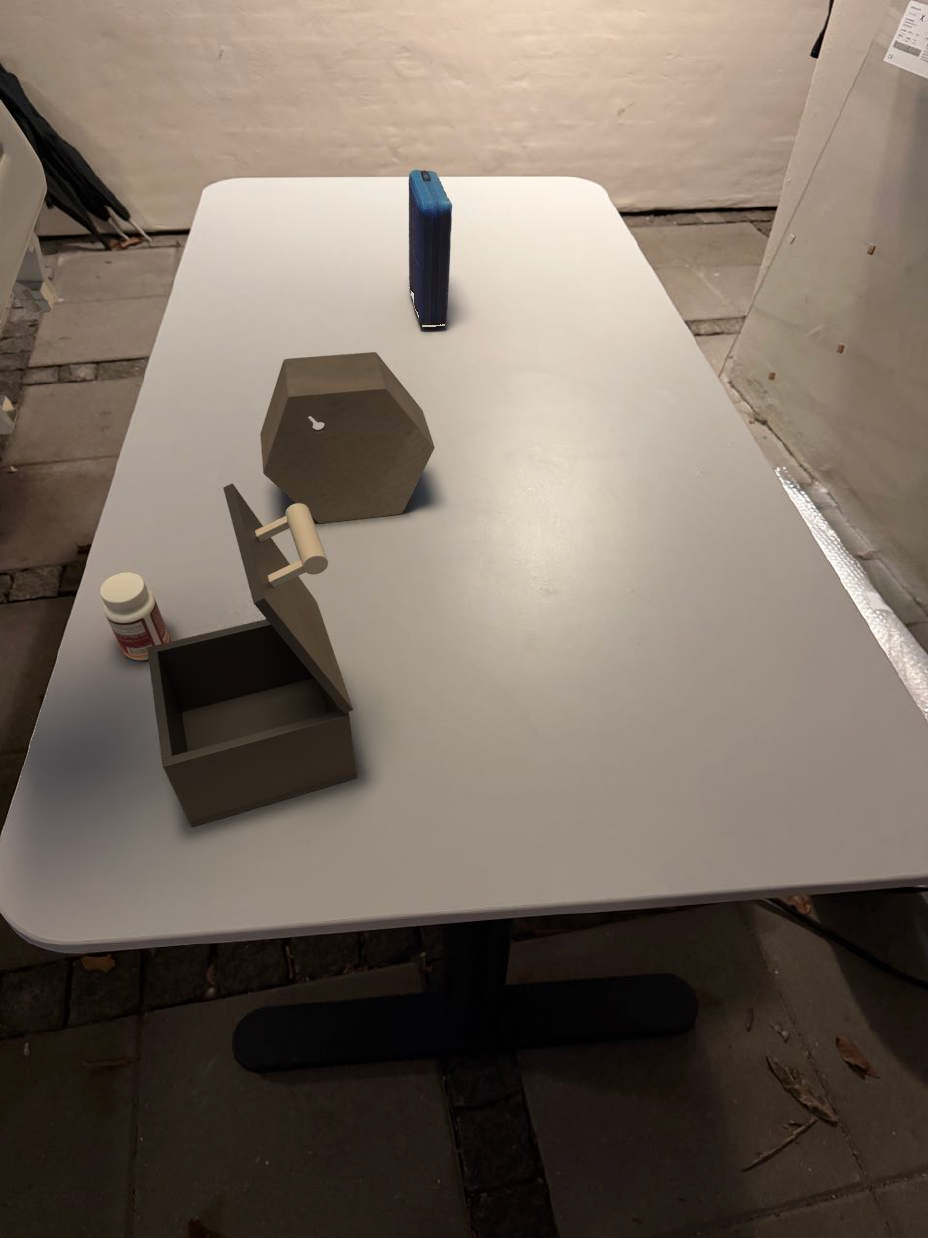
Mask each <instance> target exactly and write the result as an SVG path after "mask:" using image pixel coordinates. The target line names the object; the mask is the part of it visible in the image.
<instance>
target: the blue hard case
mask: <svg viewBox="0 0 928 1238" xmlns="http://www.w3.org/2000/svg"><path fill="white" fill-rule="evenodd" d="M452 213H453V204H452V201H451V200H450V198H449V197H448V195H447V192H446V191H445V189H444V186H443V184H442V181H441V180H440V177H439V176H438V173H437V172H436V171H433V170H425V169H424V170H420V169H413V170H411V171H410V172H409V175H408V283H409V285H408V287H410V288H409V291H410V290H411V291H412V292H413V293H414V305H415V309H416V311H417V312H418V315H419V320H418V317H417V314H416V311H415V309H414V308H413V310H414V312H415V315H416V317H417V322H418V323H419V322H420V323H419V325H420V324H421V325H440V324H441V325H442V324H446V325H445V326H436V327H422V328H423V329H434V328H445V327H446V326H447V322H448V321H447V320H448V308H449V307H448V306H449V292H450V291H449V290H450V287H449V285H450V268H451V267H450V266H451V243H452V241H451V240H452V224H453V223H452V222H453V220H452V219H453V217H452V216H453V215H452ZM414 305H413V306H414ZM421 325H420V326H421Z"/></svg>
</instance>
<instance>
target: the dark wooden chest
mask: <svg viewBox="0 0 928 1238" xmlns="http://www.w3.org/2000/svg"><path fill="white" fill-rule="evenodd" d="M147 652H148V659H147V660H148V666H149V674H150V682H151V688H152V696H153V697H152V698H153V705H154V710H155V711H154V712H155V719H156V726H157V733H158V743H159V749H160V756H161V763H162V765H161V766H162V768H163V770H164V773H165V774H166V777H167V779H168V780H169V783H170V785H171V788H172V789H173V791H174V793H175V795H176V798H177V800H178V803H179V805H180V806H181V809H182V810H183V812H184V815H185V817H186V819H187V821H188V823H189V825H190V827H191V828H193V827H197V826H199V825H203V824H207V823H210V822H213V821H216V820H221V819H223V818H226V817H230V816H233V815H237V814H240V813H244V812H247V811H250V810H254V809H257V808H260V807H265V806H266V805H271V804H273V803H278V802H281V801H285V800H286V799H290V798H294V797H297V796H301V795H305V794H308V793H311V792H314V791H317V790H321V789H324V788H328V787H331V786H335V785H338V784H341V783H345V782H347V781H351V780H354V779H357V778H358V773H357V766H356V758H355V750H354V743H353V734H352V733H353V732H352V727H351V725H352V724H351V718H350V712H348V713H346V714H344V713H343V711H342V710H341V709H340V708H339V707H338V705H337V704H336V703H335V702H334V700H333V699H332V698H331V697H330V696H329V694H328V693H327V692H326V691H325V690H324V688H323V687H322V686H321V685H320V683H319V682H318V681H317V680H316V679H315V677H314V676H313V675H312V674H311V673H310V671H309V670H308V669H307V668H306V666H305V665H304V664H303V663H302V662H301V660H300V659H299V658H298V657H297V656H296V654H295V653H294V652H293V651H292V649H291V648H290V647H289V646H288V645H287V643H286V642H285V641H284V640H283V639H282V637H281V636H280V635H279V634H278V632H277V631H276V630H275V629H274V628H273V626H272V625H271V624H270V623H269V622H268V620H267V619H266V618H264V619H261V620H260V619H259V620H257V621H252V622H248V623H244V624H240V625H235V626H231V627H227V628H223V629H220V630H214V631H209V632H206V633H202V634H201V633H200V634H197V635H193V636H187V637H184V638H180V639H176V640H172V641H169V642H167V643H163V644H159V645H154V646H150V647H147Z"/></svg>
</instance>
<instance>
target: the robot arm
mask: <svg viewBox="0 0 928 1238" xmlns="http://www.w3.org/2000/svg"><path fill="white" fill-rule="evenodd" d="M47 191H48V185H47V179H46V175H45V170H44V167H43V165H42V162H41V160H40V158H39V156H38V155H37V153H36V151H35V150H34V148H33V145H32V144H31V143H30V141H29V140H28V138H27V136H26V135H25V134H24V132H23V131H22V128H20V126H19V124H18V123H17V121H16V120H15V118H14V117H13V116H12V114H11V113H10V111H9V110H8V108H7V107H6V105H5V104H4V103H3V100H1V99H0V325H1V323H2V321H3V318H4V316H5V313H6V309H7V307H8V303H9V300H10V298H11V295H12V293H13V295H14V296H15V298H16V299H17V300H19V301H20V305H21V306H22V308H23V309H24V310H26V311H28V312H30V313H38V312H42V313H50V312H51V311H52V309H53V305H54V304H55V300H56V298H57V297H56V296H57V290H56V288H55V286H54V285H53V284H52V282H51V280H50V279H49V277H48V275H47V274H46V272H47V271H46V267H45V263H44V257H43V254H42V253H43V252H42V249H41V245H40V239H39V237H38V236H37V234H36V232H35V230H34V229H35V226H36V223H37V221H38V217H39V215H40V212H41V209H42V206H43V203H44V200H45V198H46V195H47V193H48V192H47ZM18 414H19V409H17V407H14V406H13V402H12V401H11V400H10V399H9V398H8V397H7V395H3V394H0V435H11V434H12V433H13V432H14V429H15V425H16V421H17V418H18Z"/></svg>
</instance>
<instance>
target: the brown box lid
mask: <svg viewBox="0 0 928 1238" xmlns="http://www.w3.org/2000/svg"><path fill="white" fill-rule="evenodd" d="M222 489H223V492H224V496H225V500H226V504H227V508H228V513H229V515H230V519H231V522H232V527H233V530H234V534H235V539H236V542H237V547H238V549H239V553H240V558H241V561H242V564H243V569H244V572H245V576H246V581H247V584H248V588H249V591H250V596H251V599H252V603H253V604H254V606H255V607H256V608H257V610H258V611H259V612H260V613H261V615H263V617H264V619H267V620H268V622H269V623H270V624H271V625H272V626H273V628H274V629H275V630H276V631H277V632H278V634H279V635H280V636H281V637H282V639H283V640H284V641H285V642H286V643H287V645H288V646H289V647H290V648H291V649H292V651H293V652H294V653H295V654H296V656H297V657H298V658H299V659H300V660H301V662H302V663H303V664H304V665H305V666H306V668H307V669H308V670H309V671H310V673H311V674H312V675H313V676H314V677H315V679H316V680H317V681H318V682H319V683H320V685H321V686H322V687H323V688H324V690H325V691H326V692H327V693H328V694H329V696H330V697H331V698H332V699H333V700H334V702H335V703H336V704H337V705H338V707H339V708H340V709H341V710H342V711H343V713H344V714H346V713H350V712H352V711H353V710H354V708H353V704H352V701H351V699H350V696H349V693H348V689H347V687H346V684H345V681H344V678H343V675H342V672H341V669H340V666H339V663H338V660H337V656H336V654H335V651H334V649H333V646H332V641H331V639H330V636H329V633H328V630H327V627H326V625H325V621H324V618H323V616H322V612H321V610H320V606H319V604H318V601H317V600H316V599H315V597H314V596H313V594H312V593H311V592H310V589H308V587H307V586H306V584H305V583H304V581H303V580H302V578H300V576H301V575H303V574H305V573H307V574H309V575H313V576H314V575H319V574H321V573H323V572H324V571H326V570H327V568H328V566H329V560H328V557H327V555H326V552H325V549H324V547H323V543H322V540H321V538H320V536H319V533H318V530H317V527H316V524H315V521H314V519H313V518H312V516H311V513H310V511H309V508H308V507H307V506H306V505H304V504H301V503H296V502H295V503H293V504H291V505H289V506H288V507H287V508H286V510H285V513H284V514H285V515H284V516H282V517H280V518H278V519H276V520H274V521H272V522H270V523H268V524H266V525H263V524H262V522H261V521H260V519H259V518H258V517H257V516H256V514H255V512H254V511H253V509H252V508H251V507H250V506H249V505H248V503H247V501H246V500H245V499H244V497H243V495H242V494H241V493H240V491H239V490H238V489H237V487H236V486H235V485H234V483H230V484H228V485H226V486H223V487H222ZM287 530H290V534H291V536H292V539H293V542H294V545H295V549H296V552H297V554H298V558H299V559H298V560H297V561H295V562H292V563H290V562H289V561H288V559H287V558H286V556H285V555H284V553H283V552H282V551H281V549H280V548H279V546H278V545H277V544H276V542H275V541H274V539H273V538H272V537H275V536H276V535H278V534H281V533H282V532H284V531H287Z"/></svg>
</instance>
